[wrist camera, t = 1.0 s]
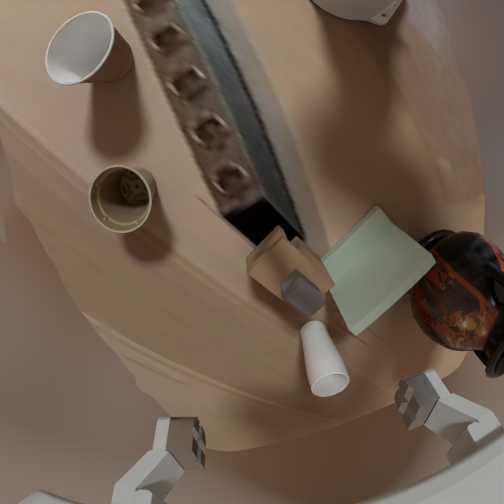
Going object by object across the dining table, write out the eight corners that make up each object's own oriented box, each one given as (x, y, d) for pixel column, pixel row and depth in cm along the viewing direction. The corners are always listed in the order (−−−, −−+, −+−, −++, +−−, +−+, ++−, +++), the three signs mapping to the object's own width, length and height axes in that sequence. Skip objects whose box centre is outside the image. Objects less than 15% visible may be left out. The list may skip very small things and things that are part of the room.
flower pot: (142, 144, 40) (121, 149, 32) (178, 190, 43) (165, 206, 36) (101, 181, 42) (76, 195, 34) (136, 224, 45) (117, 245, 37)
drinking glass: (324, 311, 55) (347, 366, 41) (331, 334, 57) (352, 388, 44) (291, 323, 55) (306, 381, 42) (300, 345, 58) (315, 402, 45)
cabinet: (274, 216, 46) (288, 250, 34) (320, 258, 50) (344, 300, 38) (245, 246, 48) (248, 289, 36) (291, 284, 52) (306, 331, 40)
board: (376, 204, 46) (419, 235, 33) (393, 227, 48) (436, 262, 35) (310, 268, 50) (332, 316, 38) (331, 286, 52) (356, 336, 40)
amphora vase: (466, 285, 55) (535, 358, 30) (394, 320, 57) (454, 418, 32) (468, 202, 46) (568, 263, 21) (385, 235, 48) (484, 331, 23)
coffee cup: (140, 24, 31) (112, -1, 20) (146, 80, 36) (117, 68, 25) (83, 46, 31) (44, 31, 21) (88, 99, 36) (47, 97, 25)
